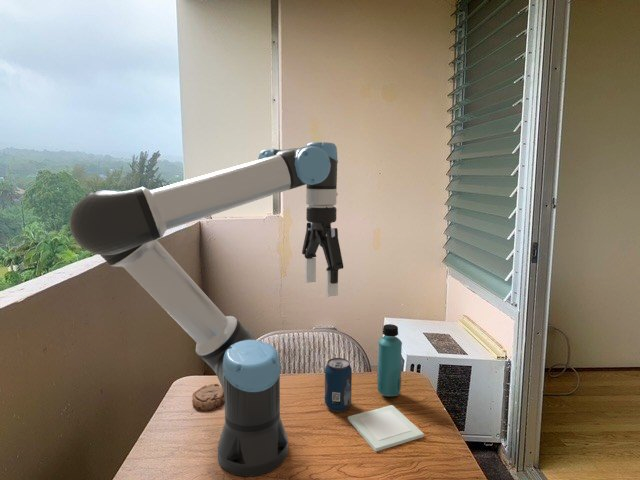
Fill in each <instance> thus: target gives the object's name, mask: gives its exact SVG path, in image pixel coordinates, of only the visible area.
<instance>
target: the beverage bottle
mask: <svg viewBox="0 0 640 480" xmlns="http://www.w3.org/2000/svg"><path fill="white" fill-rule="evenodd" d="M382 334H383V335H384V336H382V337H380V338H379V340H378V351H377V352H378V353H377V354H378V355H377V357H378V358H377V368H376V369H377V374H376V376H377V382H376V385H377V391H378V393H380V395H382V396H386V397H396V396H398V395H399V394H401V390H402V359H403V358H402V350H403V349H402V348H403V347H402V346H403V342H402V341H401V339H400V338H398V337H397V336H399V327H398V326H397V325H395V324H391V323H388V324H384V325H383V326H382Z"/></svg>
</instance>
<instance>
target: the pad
mask: <svg viewBox="0 0 640 480" xmlns="http://www.w3.org/2000/svg"><path fill="white" fill-rule="evenodd" d="M347 421H348V422H349V423H350V424H351V425H352V426H353V427H354V429H355V430H356V431H357V432H358V434H359V435H360V436H361V437H362V438H363V439H364V440H365V441H366V442H367V444H368V445H369V446H370V447H371V449H372V450H373V451H374V452H375V453H376V452H380V451H383V450H386V449H389V448H392V447H395V446H398V445H401V444H406V443H408V442H411V441H415V440H419V439H421V438H424V437H425V434H424V432H423V431H421V429H419V428H418V427H417V426H416V425H415V424H414V423H413V422H411V421H410V420H409V419H408V418H407V417H406V416H405V415H404V414H403V413H402V412H401V411H400V410H399V409H398V408H396V407H395V406H394V405H392V404H391V405H387V406H383V407H379V408H376V409H372V410H367V411H363V412H361V413H360V412H359V413H356V414H352V415H348V416H347Z"/></svg>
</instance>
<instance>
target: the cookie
mask: <svg viewBox="0 0 640 480" xmlns="http://www.w3.org/2000/svg"><path fill="white" fill-rule="evenodd" d="M223 403H224V391H223V388H222V386H221V384H219V383H212V384H208V385H203V386H201V387H200V388H199V389H197V390H195V391H194V392H193V393H192V407H195V409H196V410H197V411H201V412H205V411H211V410H214V409H216V408H217V407H220V406H221V405H222V404H223Z"/></svg>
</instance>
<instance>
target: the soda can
mask: <svg viewBox="0 0 640 480" xmlns="http://www.w3.org/2000/svg"><path fill="white" fill-rule="evenodd" d="M350 364H351V363H350V361H349V360H348V359H346V358H342V357H333V358H330V359H329V360H328V361H327V363H326V366H325V367H324V403H325V405H326V407H327V409H329V410H330V411H332V412H337V413H339V412H345V411H346V410H348V409H349V407H350V406H351V405H352V384H353V383H352V375H353V368H352V366H351V365H350Z"/></svg>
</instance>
